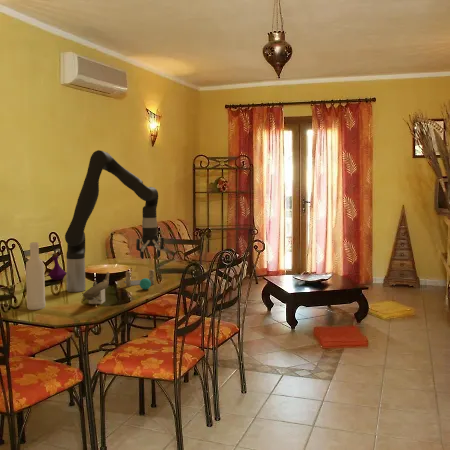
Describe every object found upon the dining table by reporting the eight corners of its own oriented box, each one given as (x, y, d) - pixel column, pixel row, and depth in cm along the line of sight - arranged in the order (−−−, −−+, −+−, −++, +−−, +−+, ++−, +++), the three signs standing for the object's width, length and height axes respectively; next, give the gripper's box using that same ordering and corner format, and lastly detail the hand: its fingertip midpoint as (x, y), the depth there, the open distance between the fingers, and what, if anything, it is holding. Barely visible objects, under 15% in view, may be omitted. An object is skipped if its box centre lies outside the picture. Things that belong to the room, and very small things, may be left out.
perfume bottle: (47, 279, 302) (46, 249, 301) (57, 277, 309) (56, 247, 307) (57, 281, 299) (56, 250, 297) (67, 278, 305) (66, 248, 304)
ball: (141, 291, 274) (141, 279, 273) (138, 288, 279) (138, 277, 279) (152, 290, 276) (152, 278, 276) (149, 287, 282) (149, 276, 281)
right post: (150, 285, 289) (149, 270, 288) (148, 284, 291) (148, 270, 290) (154, 284, 290) (154, 270, 289) (153, 283, 292) (153, 269, 291)
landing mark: (128, 285, 287) (128, 285, 287) (123, 281, 298) (123, 281, 298) (150, 284, 292) (150, 283, 292) (144, 280, 303) (144, 279, 303)
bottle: (47, 305, 243) (45, 241, 240) (42, 309, 235) (40, 243, 232) (30, 305, 243) (28, 241, 240) (24, 310, 235) (22, 243, 232)
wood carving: (117, 293, 269) (117, 271, 268) (95, 310, 234) (95, 286, 233) (100, 292, 270) (100, 271, 268) (76, 310, 235) (75, 285, 234)
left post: (126, 287, 284) (126, 272, 283) (125, 286, 286) (125, 271, 285) (131, 286, 285) (131, 272, 284) (130, 285, 287) (130, 271, 286)
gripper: (161, 225, 272) (161, 256, 273) (134, 226, 266) (134, 258, 268) (165, 226, 265) (165, 258, 267) (137, 227, 259) (138, 260, 261)
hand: (150, 258), depth 267 cm, fingers open, 7 cm apart
